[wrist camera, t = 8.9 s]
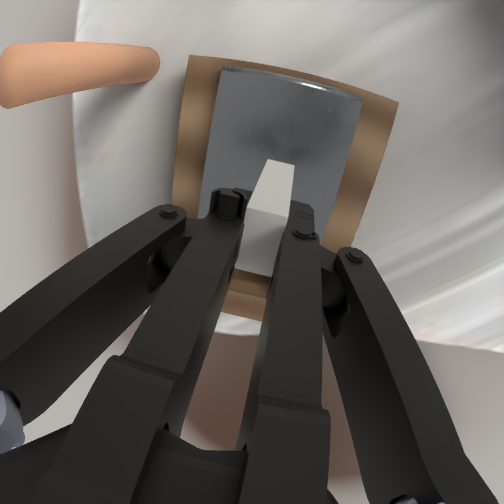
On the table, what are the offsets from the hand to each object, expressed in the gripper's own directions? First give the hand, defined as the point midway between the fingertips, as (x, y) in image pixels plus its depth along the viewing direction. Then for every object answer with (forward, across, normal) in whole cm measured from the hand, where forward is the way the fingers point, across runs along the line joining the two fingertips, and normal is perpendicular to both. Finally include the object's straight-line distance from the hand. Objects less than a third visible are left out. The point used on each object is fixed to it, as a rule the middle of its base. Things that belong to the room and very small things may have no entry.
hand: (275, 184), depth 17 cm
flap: (+6, -1, 0) cm, 6 cm away
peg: (+11, -15, +6) cm, 19 cm away
